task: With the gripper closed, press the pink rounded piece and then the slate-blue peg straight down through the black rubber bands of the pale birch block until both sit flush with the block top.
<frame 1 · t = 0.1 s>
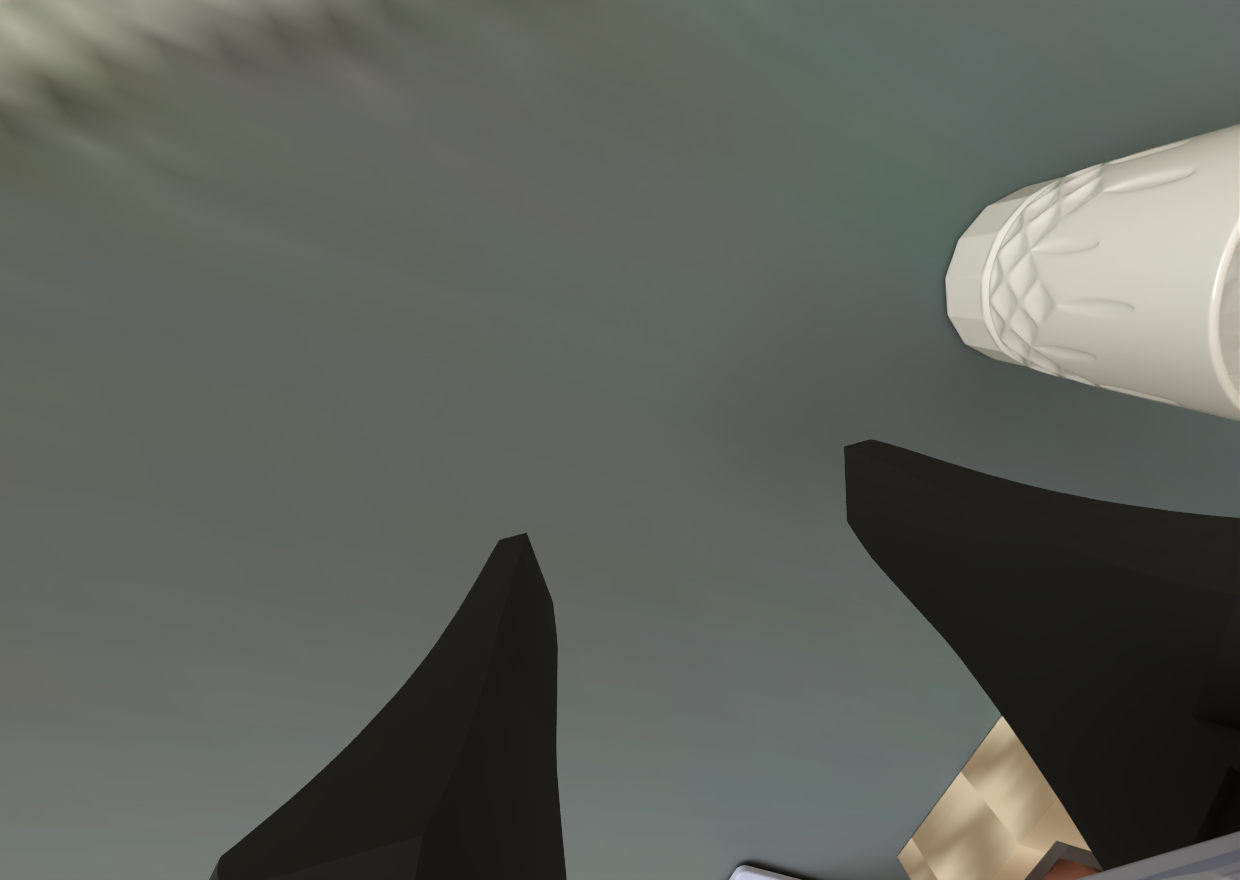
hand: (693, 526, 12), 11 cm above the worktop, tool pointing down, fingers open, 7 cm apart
white cup: (1016, 276, 22), on the worktop
peg block: (1055, 760, 30), on the worktop
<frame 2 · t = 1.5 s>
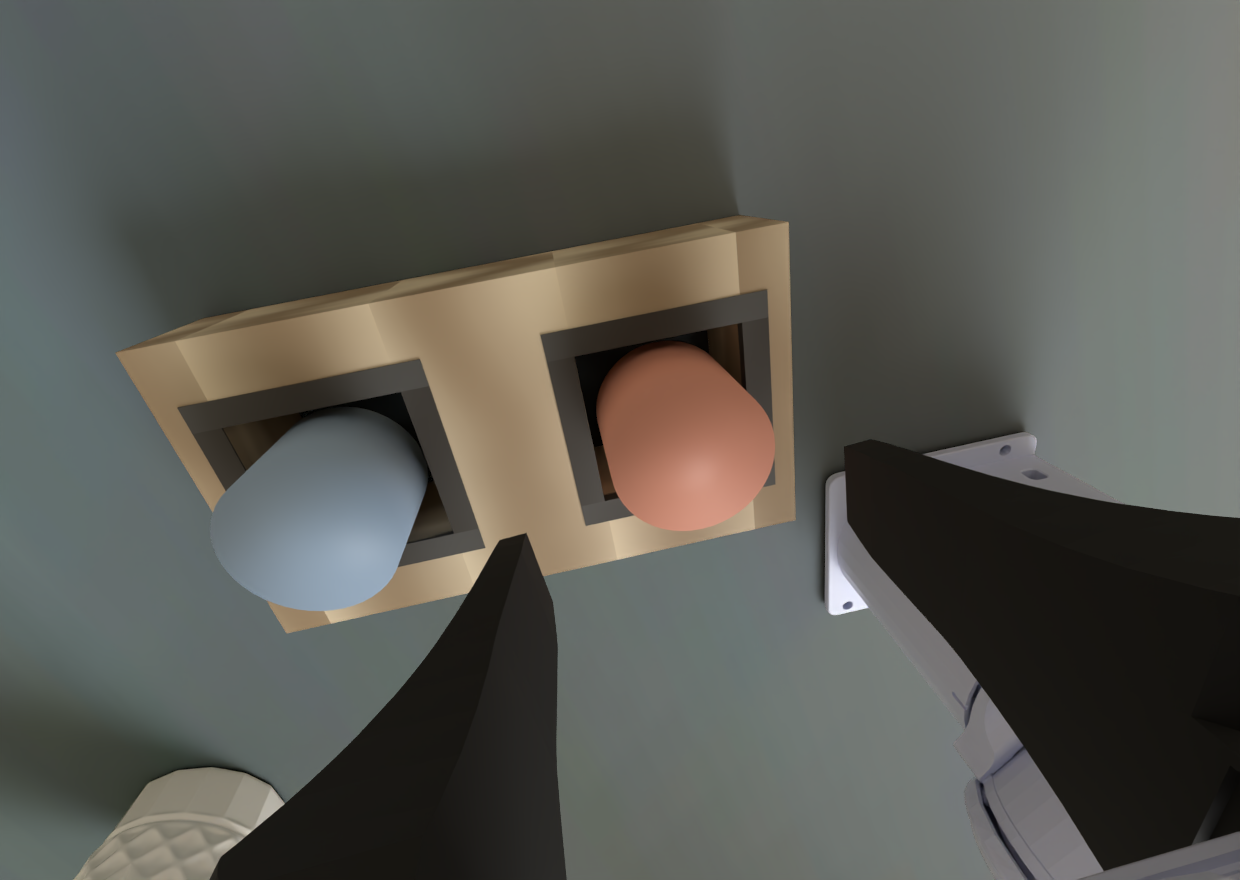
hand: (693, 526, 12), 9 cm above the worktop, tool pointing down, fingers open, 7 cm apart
blue peg: (334, 503, 15), point 5 cm above the worktop, slide at 0.0 cm
white cup: (216, 804, 27), on the worktop
pink rounded piece: (677, 431, 16), point 5 cm above the worktop, slide at 0.0 cm
peg block: (515, 402, 20), on the worktop
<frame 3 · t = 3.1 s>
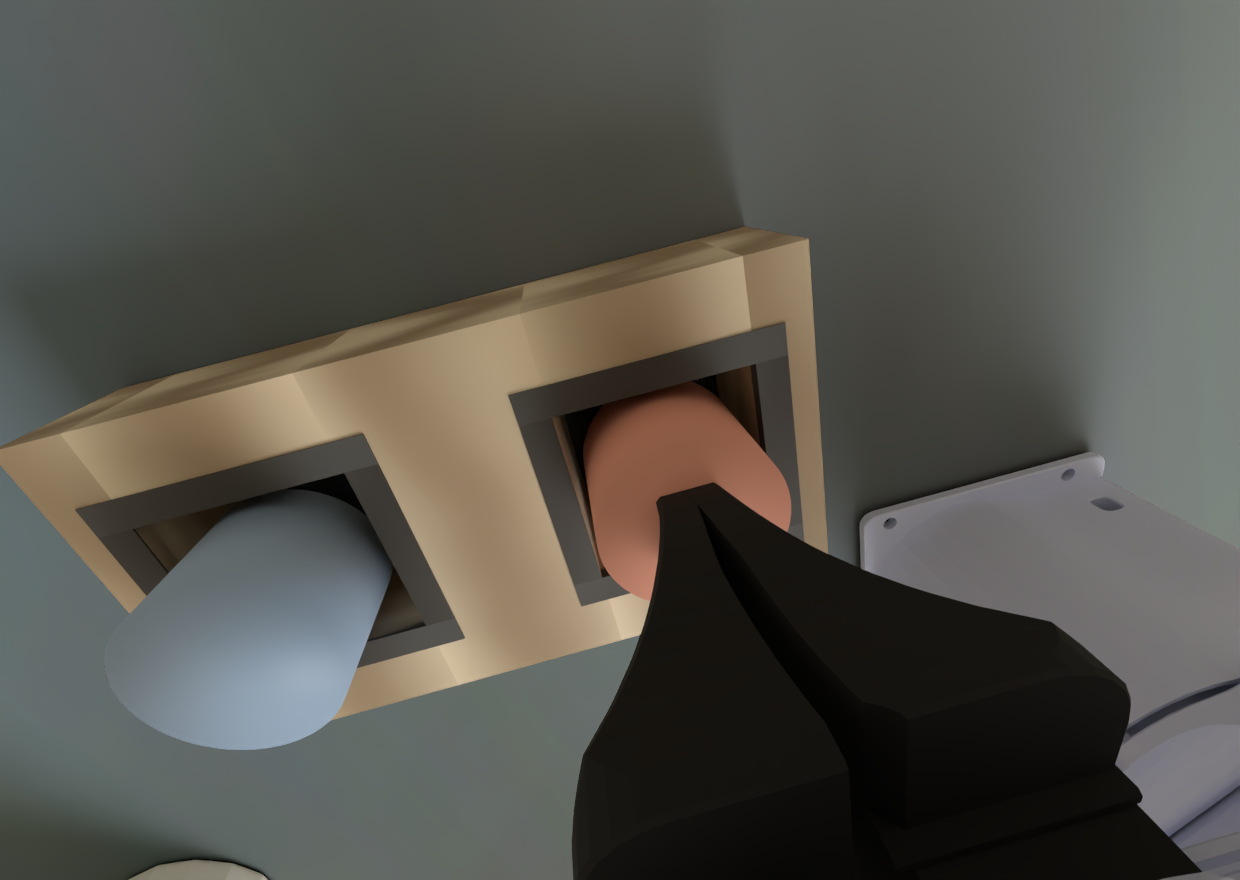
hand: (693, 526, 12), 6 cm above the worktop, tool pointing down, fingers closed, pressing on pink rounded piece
blue peg: (273, 611, 13), point 5 cm above the worktop, slide at 0.0 cm
pink rounded piece: (675, 484, 13), point 4 cm above the worktop, slide at 0.8 cm, touching gripper
peg block: (495, 457, 17), on the worktop
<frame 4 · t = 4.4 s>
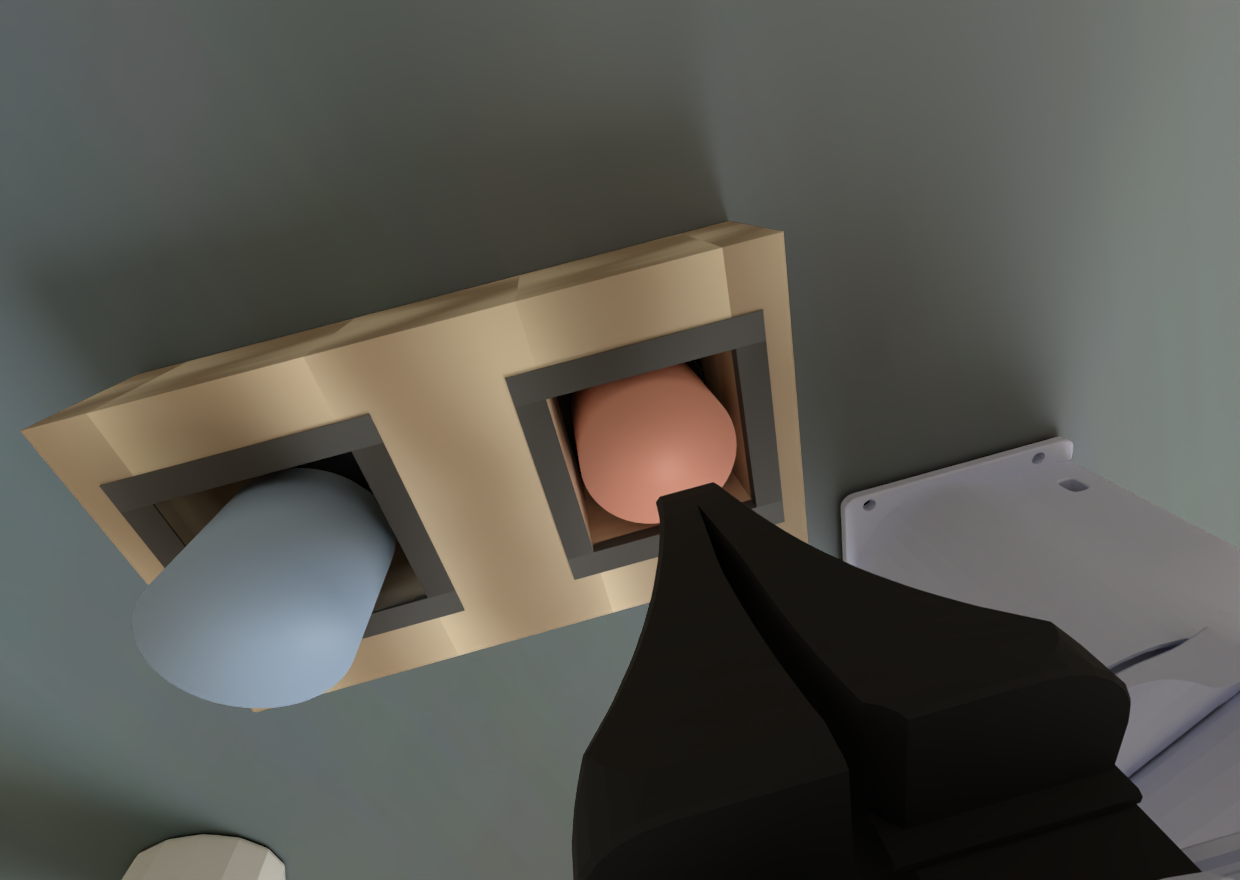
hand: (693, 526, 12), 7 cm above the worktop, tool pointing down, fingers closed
blue peg: (285, 581, 13), point 5 cm above the worktop, slide at 0.0 cm
white cup: (213, 868, 26), on the worktop
pink rounded piece: (646, 428, 16), point 2 cm above the worktop, slide at 3.0 cm
peg block: (493, 441, 18), on the worktop
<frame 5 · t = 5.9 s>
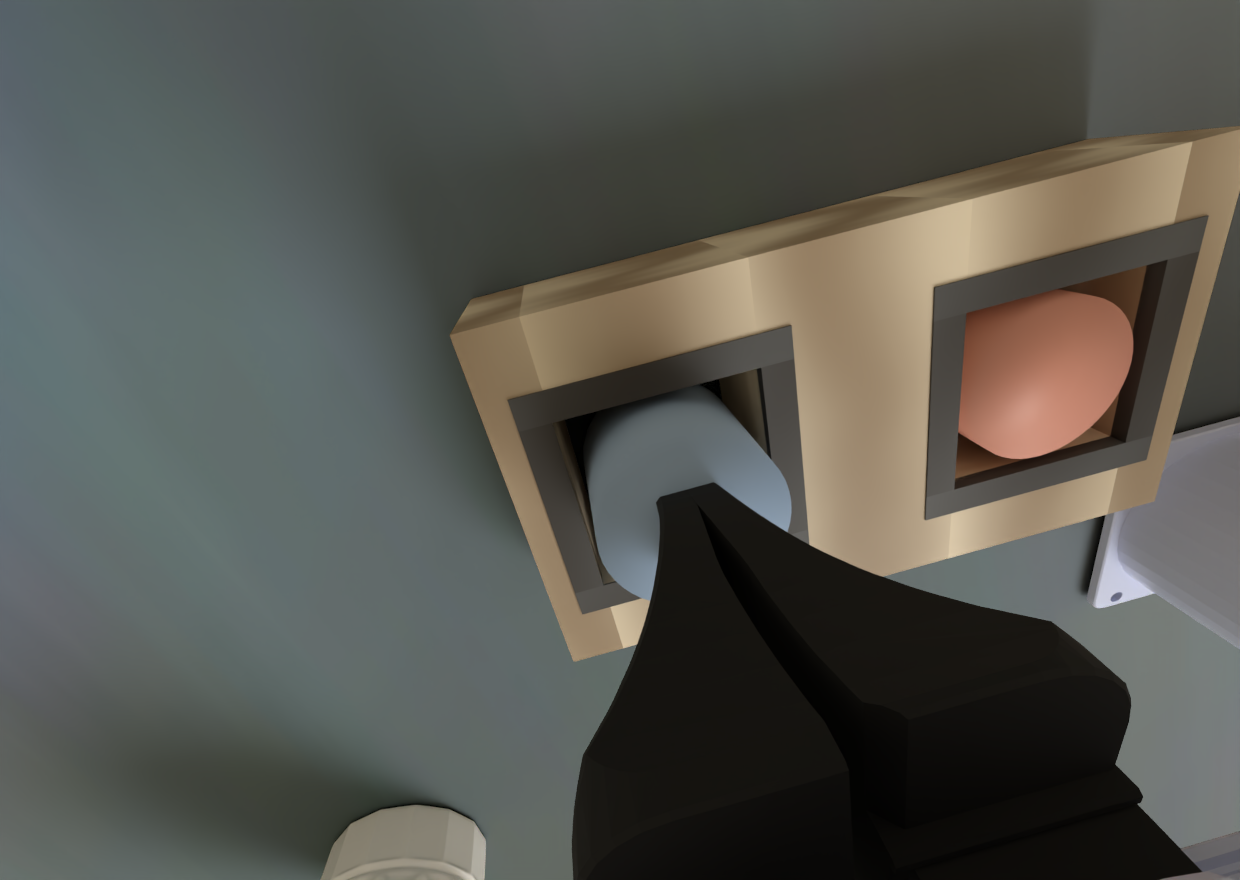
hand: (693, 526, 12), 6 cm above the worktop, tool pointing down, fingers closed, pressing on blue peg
blue peg: (675, 484, 13), point 4 cm above the worktop, slide at 1.1 cm, touching gripper
white cup: (412, 842, 25), on the worktop
pink rounded piece: (994, 361, 15), point 2 cm above the worktop, slide at 3.0 cm
peg block: (797, 381, 17), on the worktop
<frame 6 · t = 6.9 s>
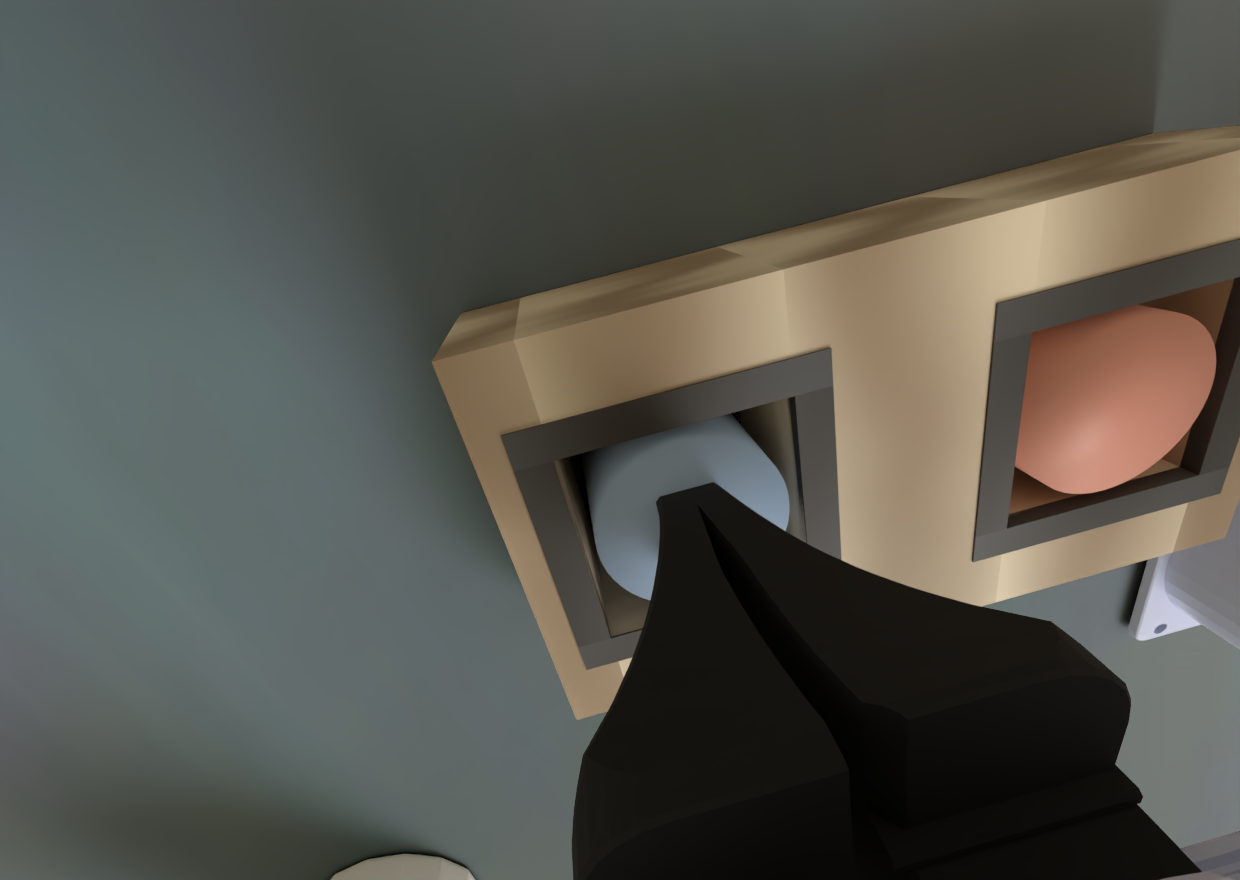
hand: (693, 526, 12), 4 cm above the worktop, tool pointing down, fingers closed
blue peg: (674, 483, 13), point 2 cm above the worktop, slide at 3.0 cm
pink rounded piece: (1048, 382, 14), point 2 cm above the worktop, slide at 3.0 cm
peg block: (824, 402, 15), on the worktop
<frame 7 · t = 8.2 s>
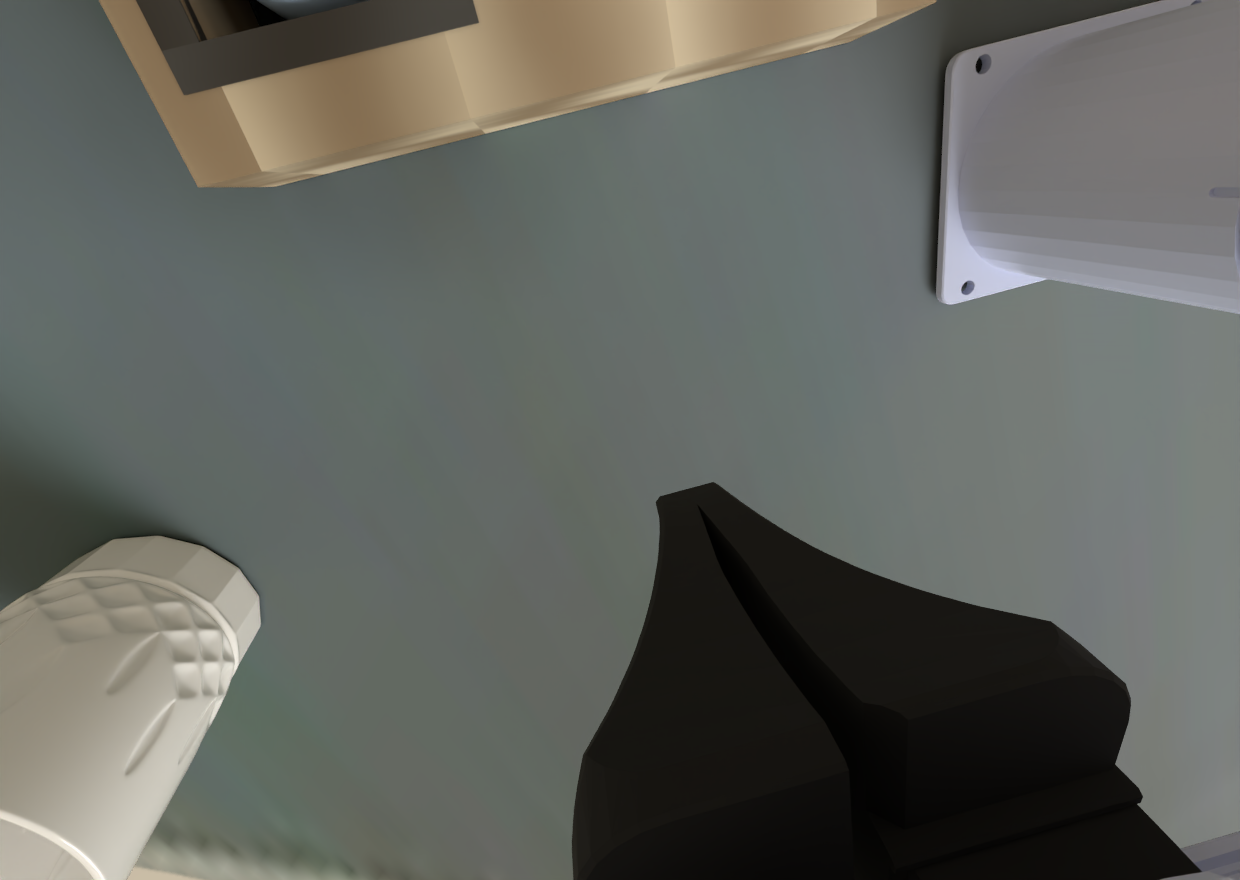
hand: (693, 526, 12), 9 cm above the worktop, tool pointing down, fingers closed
white cup: (174, 598, 22), on the worktop
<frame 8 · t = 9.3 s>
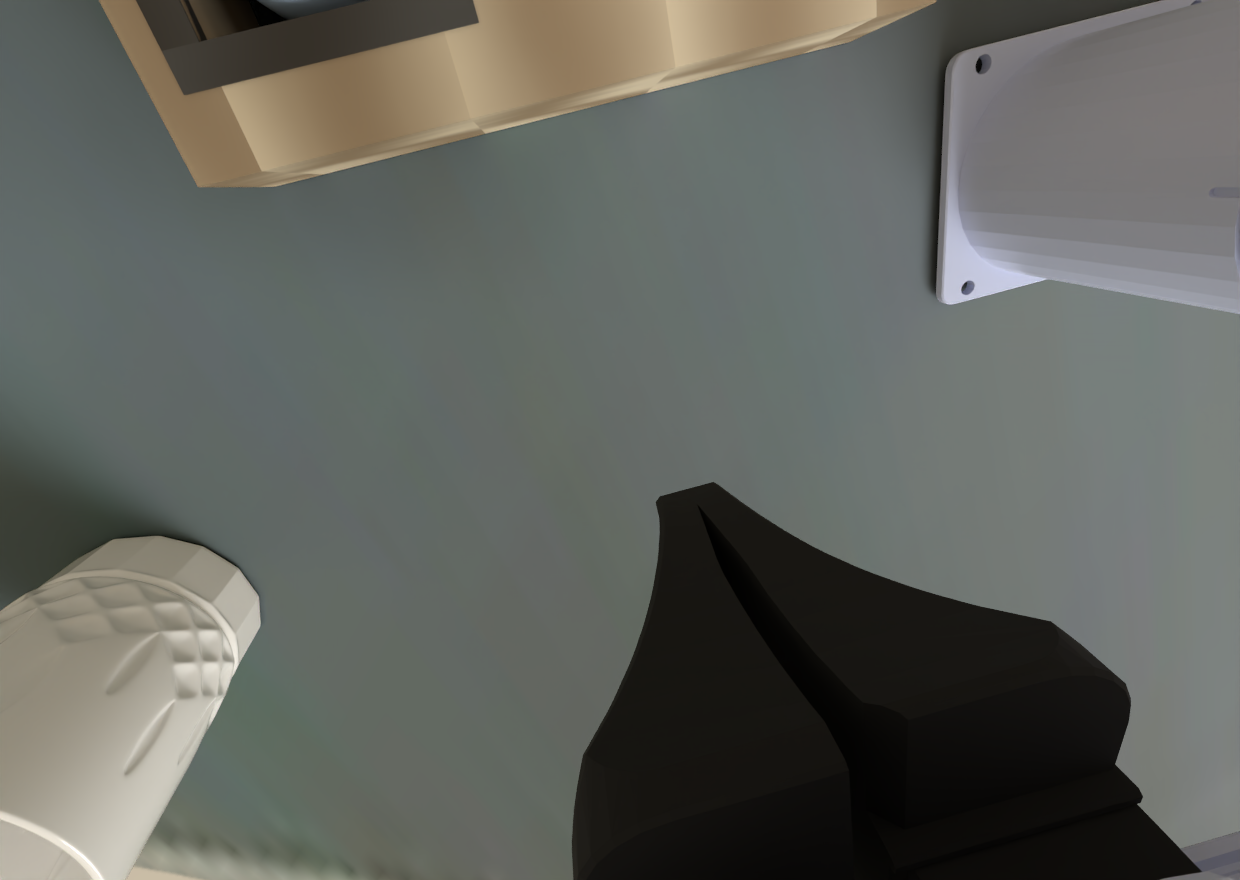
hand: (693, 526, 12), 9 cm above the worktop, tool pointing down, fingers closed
white cup: (174, 598, 22), on the worktop
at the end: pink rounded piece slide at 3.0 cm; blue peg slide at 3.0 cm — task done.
